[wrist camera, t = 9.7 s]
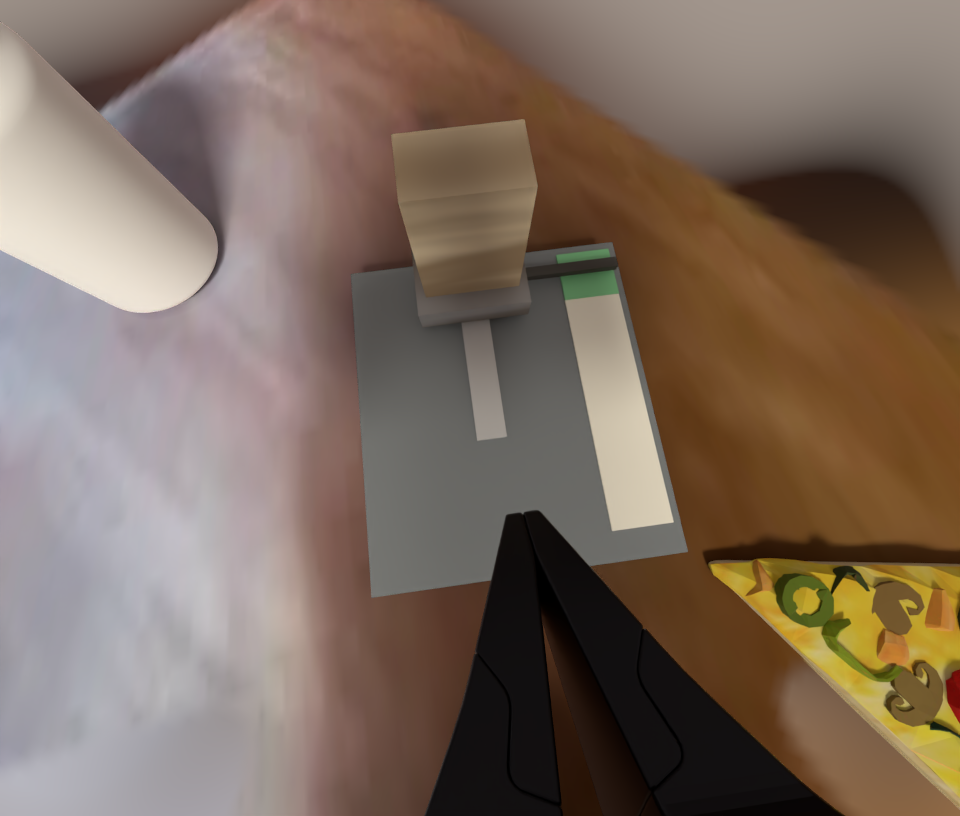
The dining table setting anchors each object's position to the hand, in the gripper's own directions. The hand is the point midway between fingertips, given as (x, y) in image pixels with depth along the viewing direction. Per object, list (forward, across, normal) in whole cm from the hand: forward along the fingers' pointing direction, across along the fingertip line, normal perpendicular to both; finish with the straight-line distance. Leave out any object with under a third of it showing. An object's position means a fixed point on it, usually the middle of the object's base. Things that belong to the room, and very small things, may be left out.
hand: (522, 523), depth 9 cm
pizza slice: (+2, -20, +16) cm, 26 cm away
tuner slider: (+16, -3, -3) cm, 16 cm away
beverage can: (+22, +20, -5) cm, 30 cm away
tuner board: (+12, -1, +4) cm, 13 cm away
